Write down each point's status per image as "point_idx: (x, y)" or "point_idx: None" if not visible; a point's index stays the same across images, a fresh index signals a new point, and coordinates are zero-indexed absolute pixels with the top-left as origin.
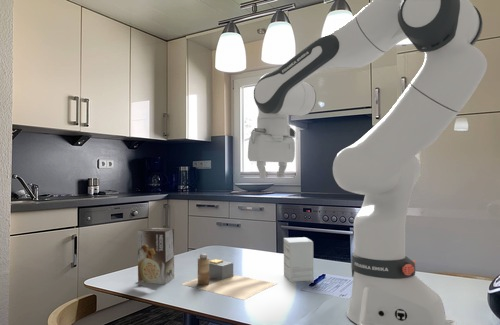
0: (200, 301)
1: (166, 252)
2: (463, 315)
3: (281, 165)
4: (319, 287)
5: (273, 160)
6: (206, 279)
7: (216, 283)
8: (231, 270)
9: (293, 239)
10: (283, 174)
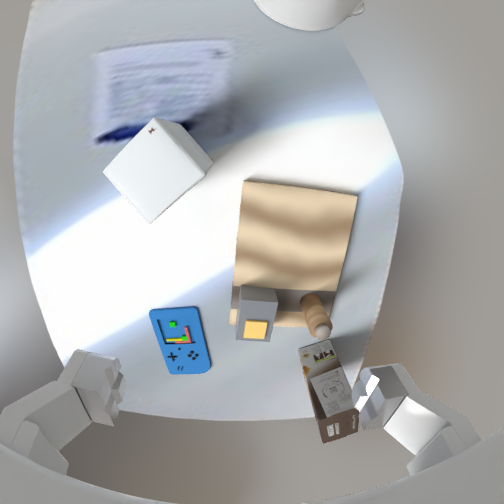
0: (364, 262)
1: (343, 378)
2: None
3: (54, 448)
4: (193, 105)
5: (381, 494)
6: (316, 298)
7: (298, 284)
8: (247, 292)
9: (160, 182)
10: (83, 366)
